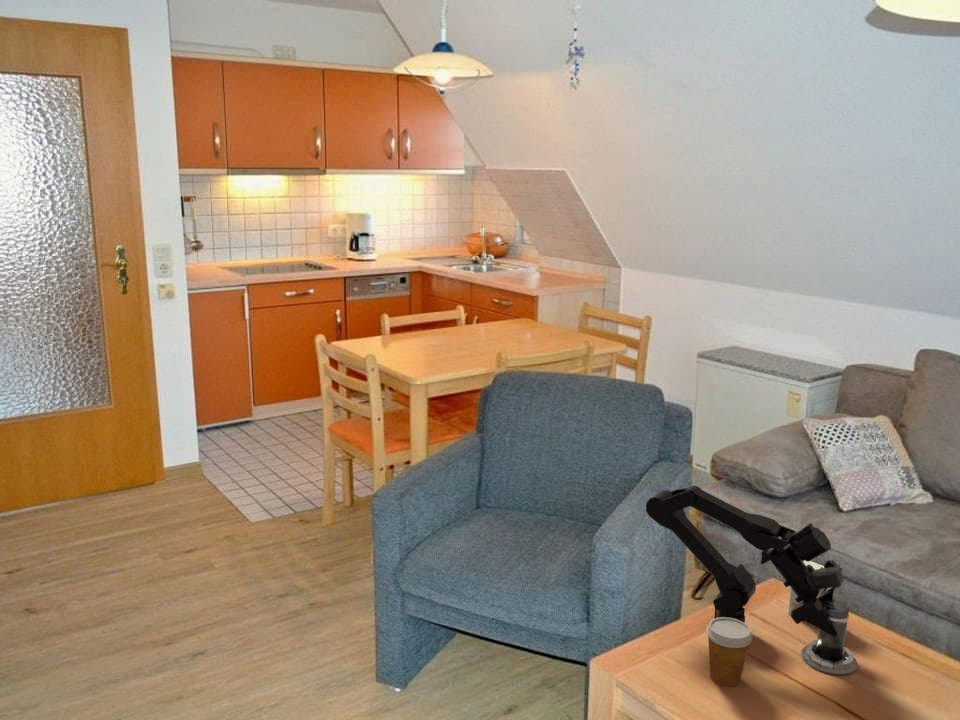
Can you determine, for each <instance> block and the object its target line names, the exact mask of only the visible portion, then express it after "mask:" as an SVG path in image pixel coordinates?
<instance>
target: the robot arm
mask: <svg viewBox="0 0 960 720" xmlns="http://www.w3.org/2000/svg"><path fill="white" fill-rule="evenodd" d="M688 507H691V508H694V509H695V510H697V511H699V512H701V513H703V514H705V515H707V516H708V517H711V519H712V518H713V519H714V520H716V521H718V522H720V523H722V524H723V525H725V526H728V527H729V528H731V529H733V530H735V531H736V532H737V533H739V534H740V535H741V537H742V538H743V540H744V541H746V542H747V543H748V544H749V545H751V546H752V547H754V548H755V549H757V550H759V551H761V559H760V564H761V565H765V564H766V563H768V562H769V561H770V563H771V564H772V565H773V566H774V568H775V569H776V570H777V572H778V573H779V574H780V575H781V577H782V579H783V580H784V582H783V585H784V586H785V588H788V587H790V590H791V589H792V590H793V591H794V593H795V594H796V595H797V597H796V599H795V600H796V601H797V602H798V604H796V605H795V606H794V608H793V610H792V611H791V615H790V617H791V619H792V620H793V622H794V623H795V624H796V625H799V624H800V623H802V622H803V623H804V622H806V623H808V624H810V625H812V626H813V627H815V628H817V629H821V630H823V631H825V632H826V633H828V634H830V635H832V636H833V637H835V636H837V635H838V633H837V631H836V629H835V627H834V626H833V624H832V623H831V621H830V619H829V618H828V616H827V614H826V604H824V605H823V606H822V603H824V602H827V601H832V602H836V600H835V591H836V590H837V588H840V587H841V586H842V583H843V582H844V581H845V579H844V577H843V573H842V572H843V568H842V567H841V566H840V565H839V564H838V563H837V562H835V561H834V560H833V559H827V560H826V561H825V562H824V565H823V566H824V568H823V567H821V568H820V569H817V570H815V569H814V568H813V567H812V566H811V565H807V566H806V565H805V564H804V562H803V561H804V560H805V561H808V562H809V561H813V560H814V559H816V558H817V557H819V556H822V555H824V554H825V553H826V552H829V551H830V550H831V549H832V545H831V542H830V539H829V538H828V536H827V535H826V533H825V532H824V531H822V530H820V529H819V528H818V527H816V526H814V525H813V524H812V522H809V523H807V524H805V526H804V527H802V528H801V529H799V530H797V531H796V530H795V529H791V528H789V527H786V526H784V525H781V524H779V522H778V521H776V520H775V519H773V518H771V517H770V518H769V517H768V516H765V515H762V514H757V513H756V514H755V513H750V512H746V511H744V510H742V509H740V508H738V507H736V506H734V505H732V504H731V503H728V502H726V501H724V500H723V499H720V498H718V497H717V496H715V495H713V494H712V493H711V494H710V493H709V492H707V491H705V490H703V489H702V488H700V486H698V485H690V486H688V487H685V488H678V489H674V490H669V489H666V490H665V489H664V490H663V489H662V490H660V491H658V492H657V493H655V494H654V495H652V497H650V498H649V499H648V500H647V502H646V504H645V511H646V513H647V515H648V517H649V518H651V519H652V520H653V521H655V523H656V524H658V526H660V527H663V528H665V529H668V530H669V531H671V532H672V533H673V534H674V535H675V536H676V537H677V538H678V539H679V540H680V541H681V542H682V544H683V545H684V546H685V547H686V548H687V549H688V550H689V552H691V554H692V555H693V556H694V557H695V558H696V559H697V560H698V561H699V562H700V563H701V564H702V566H703V567H705V569H706V570H707V571H708V572H709V574H711V576H713V578H714V580H715V584H716V585H717V589H718V591H719V593H718V594H717V596H715V598H714V599H713V600H712V603H713V606H714V617H713V619H715V618H719V617H727V618H734V619H737V620H740V621H742V622H744V623H745V624H746V621H745V620H746V616H745V610H746V608H745V606H746V605H747V604H748V603H749V602H750V600H751V599H752V597H753V596H754V594H756V590H757V583H756V581H755V580H754V575H753V574H751V573H750V572H748V570H747V569H746V567H745V566H744V565H743V564H742V563H739V565H738V566H736V565H733V564H731V563H729V562H728V561H727V560H726V559H725V558H724V556H723V555H722V554H721V553H720V552H719V551H718V550H717V549H716V548H715V546H714V545H712V543H710V541H709V540H708V539H707V538H706V537H705V536H704V535H703V534H702V533H701V532H700V530H698V528H697V527H696V526H695V525H694V524H693V523H692V522H691V521H690V519H689V518H688V517H687V515H686V512H685V508H688ZM829 588H831V589H829ZM801 601H802V602H801ZM799 602H800V603H799Z"/></svg>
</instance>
